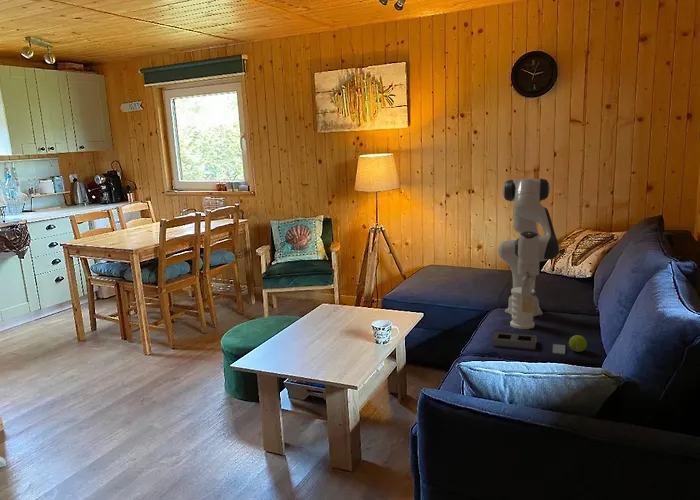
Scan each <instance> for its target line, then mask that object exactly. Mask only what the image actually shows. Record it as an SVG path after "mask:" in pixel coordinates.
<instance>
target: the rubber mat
mask: <svg viewBox="0 0 700 500" xmlns="http://www.w3.org/2000/svg"><path fill="white" fill-rule="evenodd" d="M551 355H562V356H565V355H566V345H565V344H554V343H552V347H551Z"/></svg>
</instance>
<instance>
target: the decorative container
mask: <svg viewBox="0 0 700 500" xmlns="http://www.w3.org/2000/svg"><path fill="white" fill-rule="evenodd" d="M521 288H522V287H516V288H512V287H511V289H510V291H511V295H512V294H513V296H512V300H513V302H512V315H511V321H510V322H509V323H510V324H509V326H510V327H512V328H514V329H517V328H518V330H531V329H533V328H535V327H536V325H535V323H536V322H534V316H533V311H532V313H526V312H522V297H523V296H522V294H521ZM532 292H533V294H534V293H535V290H534V289H532ZM533 299H534V297H533ZM533 305H534V304H533ZM534 326H535V327H534ZM530 328H531V329H530Z"/></svg>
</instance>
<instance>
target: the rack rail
mask: <svg viewBox="0 0 700 500" xmlns="http://www.w3.org/2000/svg"><path fill="white" fill-rule="evenodd" d="M536 345H537V335H536V334H535V335H534V334H522V333H513V332H512V333H511V332H501V331H495V332H494V334H493V336H492V338H491V346H492V347H498V348H499V347H501V348H511V349H519V350H530V351H536V348H537V347H536Z"/></svg>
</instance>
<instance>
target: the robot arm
mask: <svg viewBox="0 0 700 500" xmlns="http://www.w3.org/2000/svg"><path fill="white" fill-rule="evenodd" d="M501 190H502V195H503V197H504V198H503V199H505V201H508V202H514V204H513V223H512V224H513V229H514V231H515V232H517V233H518V234H519V236H518V238H517V239H516V240H515V239H511V240H510V239H509V240H505V241H504V240H503V241H501V243H500V244H499V246H498V250H497V251H498V255H499V257H500V259H502V260H503V261H504V262H505V263H506V264H507V265H508V267H509V268H510V270H511V274H512V286H511V289H512V288H516V287H522V288H521V294H522V296H524V297H525V303H529V302H530V295H531V292H532V289H534V290H535V293H534V294H533V297H534V299H533V304H534V305H533V317H536V316H542V315H544V314H543V311H542V309H541V307H540V305H539V303H540V302H539V301H540V300H539V298H538V297H537V296H536V295H537V288H536V278H537V276H538V275H540V262H546V261H547V260H549V261H550V260H551V261H552V260H554V259H556V258H557V257H558V256H559V254H560V244H559V241H558V238H557V235H556V233H555V229H554V226H553V221H552V219H551V218H552V217H551V216H550V214H551V213H549V210H548V208H547V207H545V206H543V204H541V201H544V200H546V199H548V197H549V195H550V191H551V186H550V184H549V181H548V180H547V179H545V178H529V177H528V178H527V177H526V178H520V179H509V180H506V181H505V182H504V183H503V186H502V189H501ZM537 224H540V225H541V227H542V229H543V230H542V231H543V234H544V236H541V235H540V233H539V230H538V225H537ZM512 296H513V294H512V293H511V295H509V297H508V307H507V308H505V310H504V313H507V314H509V315H511V316H512V302H513V300H512Z"/></svg>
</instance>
